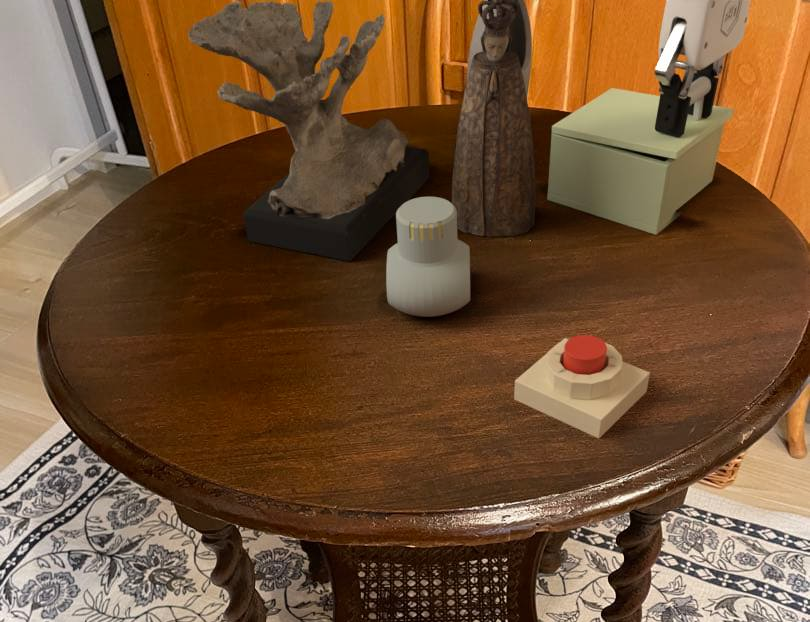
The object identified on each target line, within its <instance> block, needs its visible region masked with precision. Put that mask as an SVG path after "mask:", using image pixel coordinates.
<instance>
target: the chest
mask: <svg viewBox="0 0 810 622" xmlns="http://www.w3.org/2000/svg"><path fill="white" fill-rule="evenodd" d="M724 126H725V123H723V124H722V125H721V126H719V127H718V128H717V129H715V130H714V131H713V132H711V133H710V134H709V135H708V136H706V137H705V138H704V139H702V140H701V141H700V142H698V143H697V144H696V145H694V146H693V147H692V148H690V149H689V150H688V151H686V152H685V153H684V154H682V155H681V156H680V157H679V158H677V159H672V158H667V157H663V156H658V155H653V154H648V153H644V152H639V151H634V150H629V149H625V148H620V147H615V146H611V145H606V144H601V143H596V142H592V141H587V140H582V139H578V138H573V137H568V136H563V135H559V134H554V133H552V132H551V139H550V152H549V153H550V154H549V169H548V182H547V183H548V184H547V185H548V186H547V199H546V200H547V201H549V202H553V203H556V204H559V205H562V206H564V207H569V208H571V209H574V210H577V211H581V212H584V213H587V214H590V215H593V216H596V217H600V218H603V219H605V220H609V221H611V222H615V223H617V224H621V225H623V226H627V227H631V228H633V229H636V230H640V231H643V232H646V233H649V234H652V235H655V236H657V235H658V234H660V232H662V231H663V230H664V229H665V228H666V227H668V226H669V225H670V224H671V223H673V222H674V221H675V220H676V219H677V218H679V217H680V216H681V215H682V214H683V213H681V212H678V211H677V210H678V209H680V208H681V207H683V205H684V204H686V203H687V202H688V201H690V200H691V199H692V198H693V197H695V196H696V195H697V194H698V193H700V192H701V191H702V190H703V189H704V188H706V187H707V186H708V185H709V184H711V183H712V181H713V180H714V174H715V170H716V165H717V160H718V155H719V150H720V145H721V141H722V138H723V137H722V136H723V131H724Z"/></svg>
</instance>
